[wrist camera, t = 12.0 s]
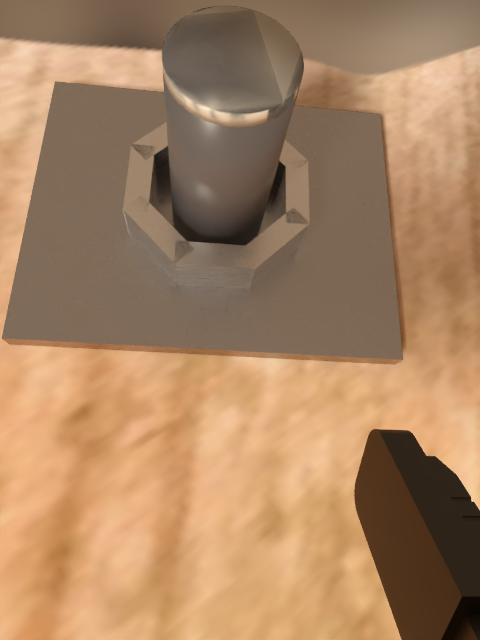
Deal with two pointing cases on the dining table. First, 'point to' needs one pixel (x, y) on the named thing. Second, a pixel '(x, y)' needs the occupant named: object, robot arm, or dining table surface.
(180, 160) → the metal cylinder
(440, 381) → the dining table surface
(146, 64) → the dining table surface
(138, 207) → the octagonal socket base
